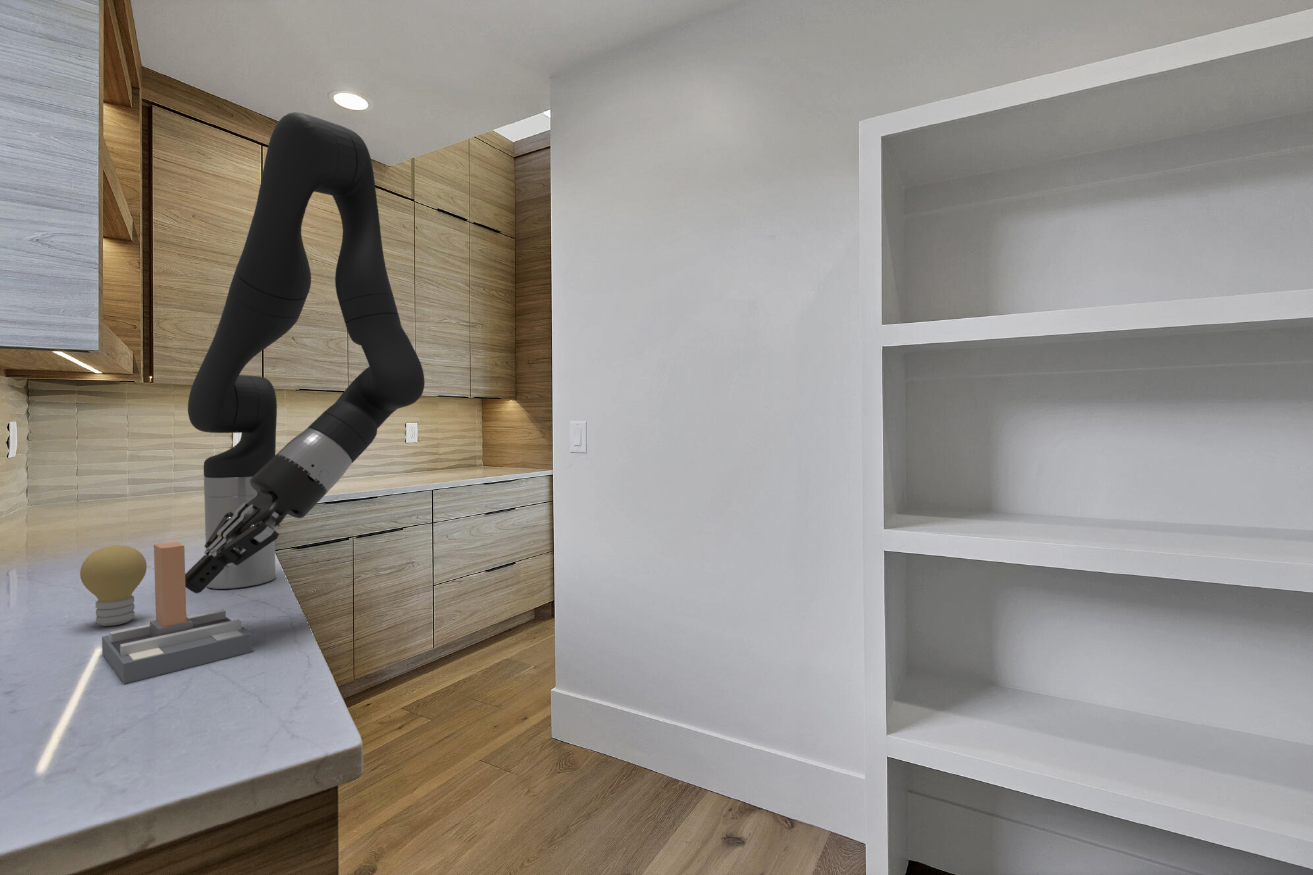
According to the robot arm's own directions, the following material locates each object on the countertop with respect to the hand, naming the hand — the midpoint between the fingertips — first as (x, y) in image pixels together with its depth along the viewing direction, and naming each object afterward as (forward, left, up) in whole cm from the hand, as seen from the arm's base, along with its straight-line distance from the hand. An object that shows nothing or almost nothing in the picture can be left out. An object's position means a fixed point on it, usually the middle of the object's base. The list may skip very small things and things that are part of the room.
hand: (187, 588), depth 69 cm
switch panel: (0, -1, -7) cm, 7 cm away
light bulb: (-19, -4, -7) cm, 21 cm away
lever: (0, -2, -5) cm, 5 cm away
